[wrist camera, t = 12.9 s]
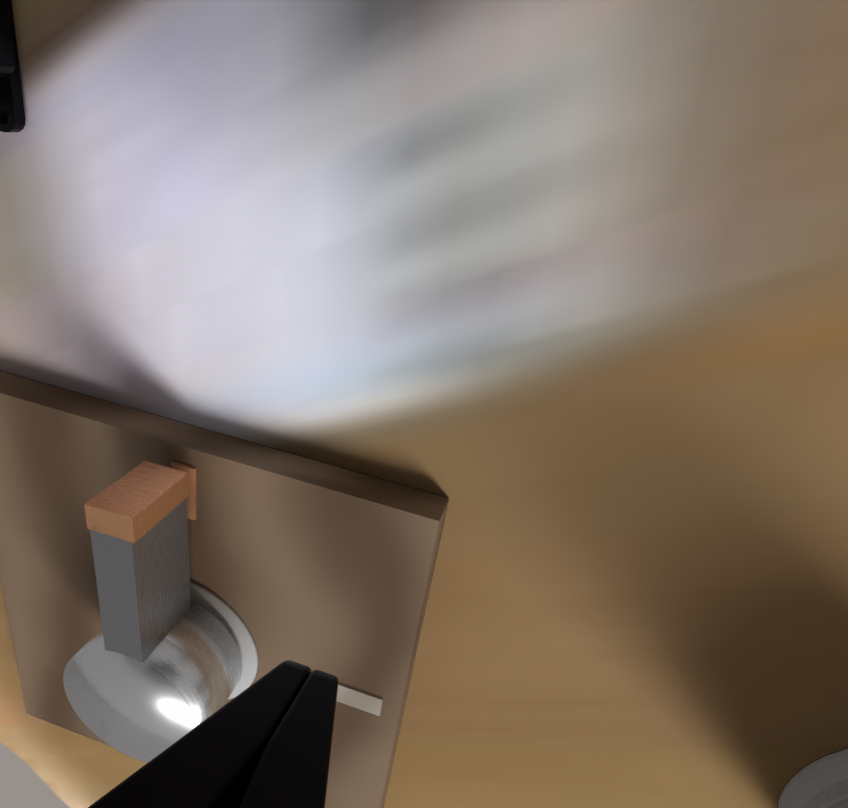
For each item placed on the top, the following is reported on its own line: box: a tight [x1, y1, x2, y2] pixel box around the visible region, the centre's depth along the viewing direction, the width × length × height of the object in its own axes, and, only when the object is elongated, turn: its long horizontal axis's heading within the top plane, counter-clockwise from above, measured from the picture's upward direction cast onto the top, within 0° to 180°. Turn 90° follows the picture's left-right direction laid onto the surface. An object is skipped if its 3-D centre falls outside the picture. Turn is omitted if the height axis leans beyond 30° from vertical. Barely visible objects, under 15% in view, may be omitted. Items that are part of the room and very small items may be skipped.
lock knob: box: [63, 461, 242, 762], centre depth 24 cm, size 12×6×3 cm, turn 172°
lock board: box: [0, 371, 449, 808], centre depth 28 cm, size 20×20×2 cm
